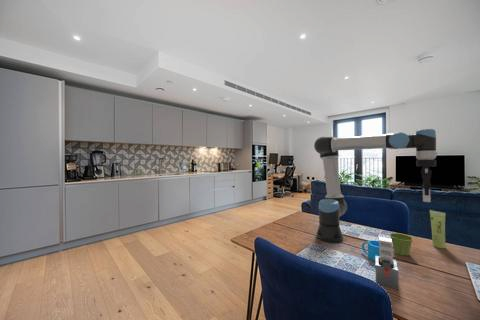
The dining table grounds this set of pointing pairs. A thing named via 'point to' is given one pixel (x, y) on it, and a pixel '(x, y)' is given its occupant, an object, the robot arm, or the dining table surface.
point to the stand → (387, 274)
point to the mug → (372, 249)
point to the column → (386, 250)
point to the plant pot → (401, 243)
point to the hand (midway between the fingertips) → (426, 199)
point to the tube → (438, 228)
